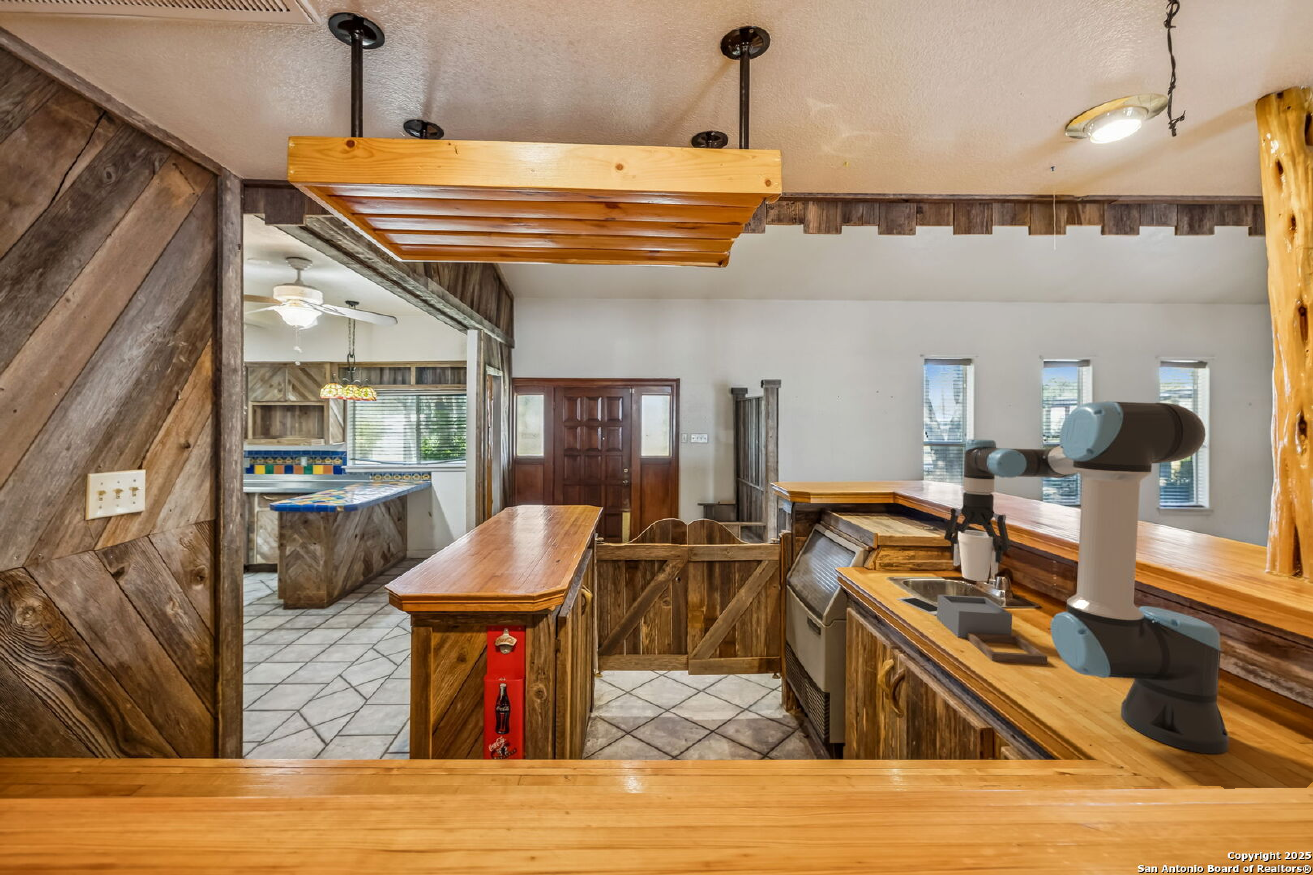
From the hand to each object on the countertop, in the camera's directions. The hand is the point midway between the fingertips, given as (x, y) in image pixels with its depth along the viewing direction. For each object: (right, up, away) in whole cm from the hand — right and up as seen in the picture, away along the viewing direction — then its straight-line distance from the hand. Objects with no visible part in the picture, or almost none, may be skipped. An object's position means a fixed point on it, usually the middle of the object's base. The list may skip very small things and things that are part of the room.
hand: (975, 569), depth 152 cm
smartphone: (-5, -18, +19) cm, 27 cm away
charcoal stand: (0, -18, +1) cm, 18 cm away
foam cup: (0, -3, 0) cm, 3 cm away
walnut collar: (-1, -18, -14) cm, 23 cm away
